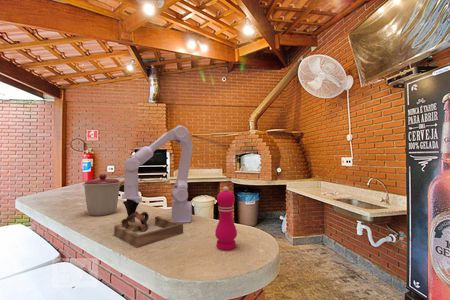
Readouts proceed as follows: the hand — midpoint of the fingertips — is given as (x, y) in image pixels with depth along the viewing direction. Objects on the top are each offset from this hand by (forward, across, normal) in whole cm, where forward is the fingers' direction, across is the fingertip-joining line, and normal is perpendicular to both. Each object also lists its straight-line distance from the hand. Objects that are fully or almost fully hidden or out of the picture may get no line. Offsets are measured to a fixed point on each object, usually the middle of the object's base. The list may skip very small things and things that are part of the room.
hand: (131, 217), depth 99 cm
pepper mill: (+4, +46, +11) cm, 47 cm away
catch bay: (+4, +15, 0) cm, 15 cm away
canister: (+4, -34, 0) cm, 34 cm away
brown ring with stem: (+4, +5, 0) cm, 7 cm away
